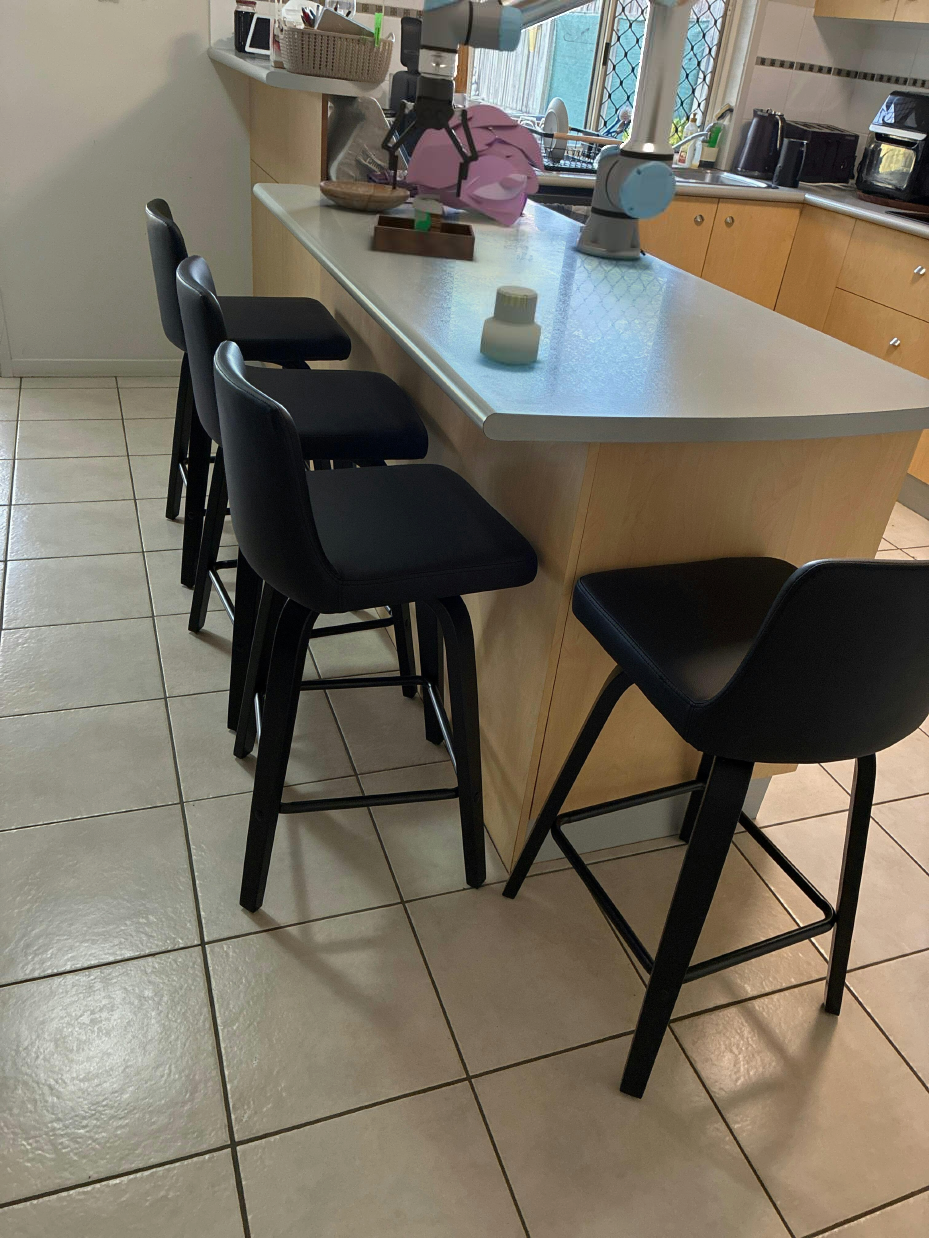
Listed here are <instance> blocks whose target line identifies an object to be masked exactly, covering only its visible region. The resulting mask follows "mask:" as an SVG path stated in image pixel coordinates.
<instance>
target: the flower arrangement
mask: <svg viewBox="0 0 929 1238" xmlns="http://www.w3.org/2000/svg"><path fill="white" fill-rule="evenodd" d="M463 108H465V109H466V110H467V122H468V125H469V129H470V132H471V135H472V138H473V141H474V145H475V148H476V151H477V154H478V160H477V161H474V162H471V163H470V164H469V169H468V178H467V180H462V184H461V193H460V198H459V197H456V191H457V181H458V172H459V163H460V162H463V159H462V157H461V156H460V154H459V152H458V151H457V149H456V147H455V146H454V144H453V142H452V141H451V139H450V137H449V135H448V134H447V132H446V131H445V129H444V128H443V129H442V130H440V131H439V130H435V129H425V131H424V132H423V133H422V135H421V137H420V138H419V140H418V142H417V143H416V146H415V147H414V150H413V152H412V155H411V158H410V159H409V162H408V165H407V168H406V173H405V182H406V184H411V185H417V189H418V195H424V194H426V195H440V199H439V201H440V203H443V206H444V207H448V208H451V209H454V210H458V211H463V212H466V213H471V214H478V215H483V216H487V217H490V218H491V219H494V220H495V221H497V222H499V223H500V224H503V225H504V226H505V227H508V228H509V227H511V226H513V225H514V224H515V223H516V222H517V221H518V220H519V218H522V219H523V218H524V217H526V216H527V214H526V213H524V210H525V208H526V204H527V201H528V194H529V195H533V194H534V195H535V194H536V193H537V192H538V191H539V184H540V183H539V177H538V175H537V172H536V170H535V168H537V169H538V170H539V171H540V172H542V173H543V174H546V172H545V164H544V163H545V162H544V158H543V157H544V156H543V152H542V149H541V147H540V143H539V142H538V139H537V138H536V137H535V135H534V134H533V133H532V131H530V130H529V128H527V127H525V126H524V125H522V124H521V123H518V122H517V121H515V120H514V119H512V117H510V115H508V114H507V112H505V111H504V110H503V109H501V108H499V107H498V106H494V105H491V104H485V103H482V104H481V103H480V104H479V103H478V104H474V105H471V106H468V107H466V106H465V107H464V106H461V107H457V108H455V109H463ZM448 123H449V125H450V127H451V128H452V130H453V132H454V134H455V135H456V137H457V139H458V140H459V142H460V144H461V145H462V147H463V149H464V151H465V152H466V154H467V156H469V155H471V152H470V149H469V146H468V143H467V140H466V136H465V133H464V130H463V127H462V123H461V121H459V120H458V119H457V116H456V115H454V116H453V117H452V118H451V120H450V121H449V122H448ZM532 165H533V166H534V167H535V168H534V167H533V166H532ZM444 207H443V209H442V217H445V216H446V212H445V208H444Z"/></svg>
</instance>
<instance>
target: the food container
mask: <svg viewBox="0 0 929 1238" xmlns="http://www.w3.org/2000/svg"><path fill="white" fill-rule="evenodd" d="M439 199H440V195H426V194H424V195H419V194H416V195H415V196H414V199H413V201H412V204H411V208H413V209H414V219H415V227H414V230H419V231H428V232H437V233H440V228H441V222H442V217H443V216H442V209H443V208H444V205H443V203H440V201H439Z"/></svg>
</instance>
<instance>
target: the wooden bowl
mask: <svg viewBox="0 0 929 1238" xmlns="http://www.w3.org/2000/svg"><path fill="white" fill-rule="evenodd" d="M318 187H319V190H320V192H321V194H322V195H323V196H324V197H325V198H326V199H328V200H329V201H331V202H332V203H333V204H336V205H338V206H341V207H343V208H347V209H353V210H359V211H367V212H383V211H389V210H393V209H396V208H398V207H401V206H402V205H403V204H405V203H406V202H407V201H408V200H409V199H410V191H409V190H407V189H406V188H401V187H397V186H396V189H392V187H393V185H388V184H381V183H373V182H365V181H357V180H356V181H355V180H337V179H335V180H324V181H321V182H319V186H318Z"/></svg>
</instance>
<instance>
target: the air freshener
mask: <svg viewBox="0 0 929 1238" xmlns="http://www.w3.org/2000/svg"><path fill="white" fill-rule="evenodd" d="M538 297H539V295H538V292H537V291H536V290H534V289H531V288H529V287H526V286H519V285H501V286H499V287H498V288H497V289H496V295H495V303H494V310H493V315H492V316H489V317H486V318H485V319H484V322H483V324H482V325H483V326H482V330H481V337H480V346H479V352H480V353H481V354H482V356H484V357H486V358H487V359H488V360H490V361H491V362H494V363H498V364H502V365H507V366H526V365H529V364H531V363H534V362H536V361H537V360H538V354H539V349H540V340H541V333H542V326H541V325H540V324H539V323H538V322H536V321H535V318H536V313H537V312H536V311H537V304H538Z"/></svg>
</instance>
